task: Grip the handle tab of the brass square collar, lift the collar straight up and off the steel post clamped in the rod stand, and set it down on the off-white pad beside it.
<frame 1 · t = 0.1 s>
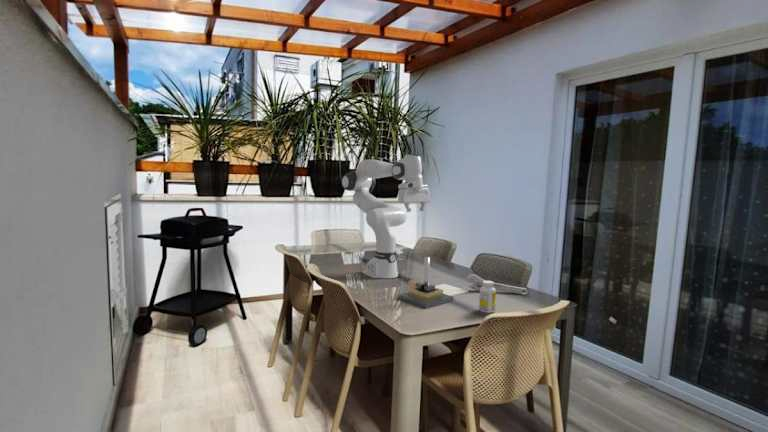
hand: (415, 211, 217), 39 cm above the table, tool pointing down, fingers open, 8 cm apart
collar: (425, 295, 195), point 2 cm above the table, touching rod stand
wrench: (496, 292, 210), on the table
rod stand: (425, 299, 195), on the table
supplement bottle: (486, 311, 181), on the table
pad: (445, 291, 209), on the table
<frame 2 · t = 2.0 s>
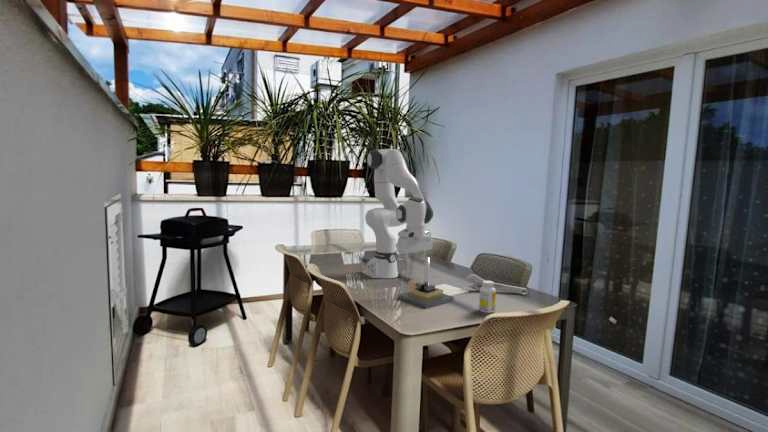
hand: (415, 261, 199), 17 cm above the table, tool pointing down, fingers open, 8 cm apart
nothing on the table moved.
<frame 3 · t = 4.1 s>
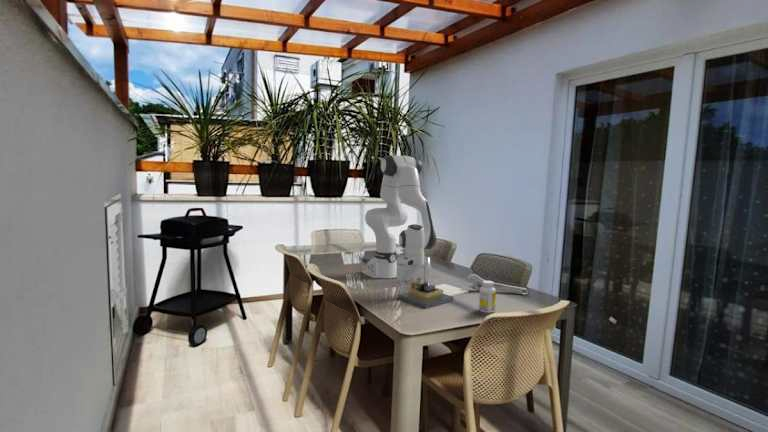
hand: (414, 287, 201), 4 cm above the table, tool pointing down, fingers closed on collar, 3 cm apart
collar: (426, 295, 195), point 2 cm above the table, touching gripper, rod stand
everything else where it was.
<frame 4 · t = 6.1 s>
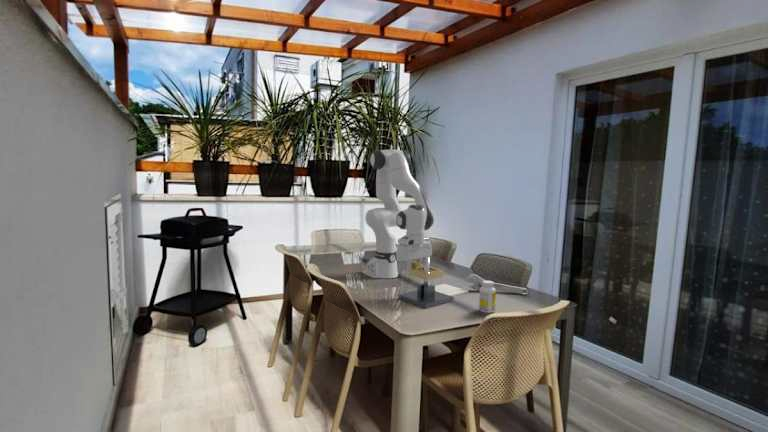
hand: (414, 267, 200), 14 cm above the table, tool pointing down, fingers closed on collar, 3 cm apart
collar: (426, 275, 194), point 11 cm above the table, touching gripper
everything else where it was.
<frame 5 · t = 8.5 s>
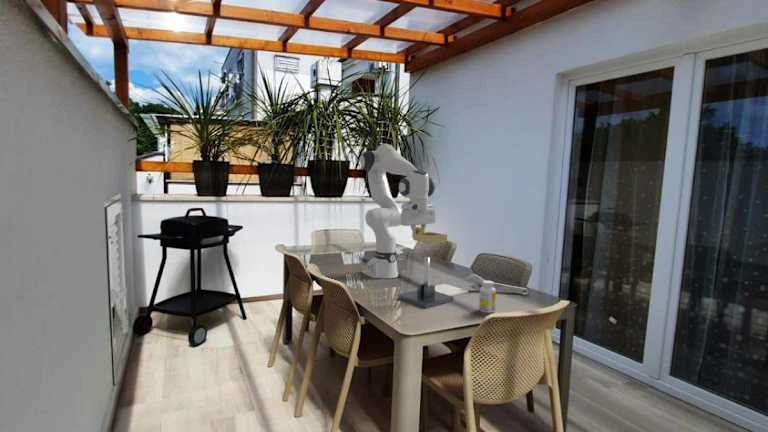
hand: (418, 233, 200), 30 cm above the table, tool pointing down, fingers closed on collar, 3 cm apart
collar: (430, 240, 194), point 28 cm above the table, touching gripper
everything else where it was.
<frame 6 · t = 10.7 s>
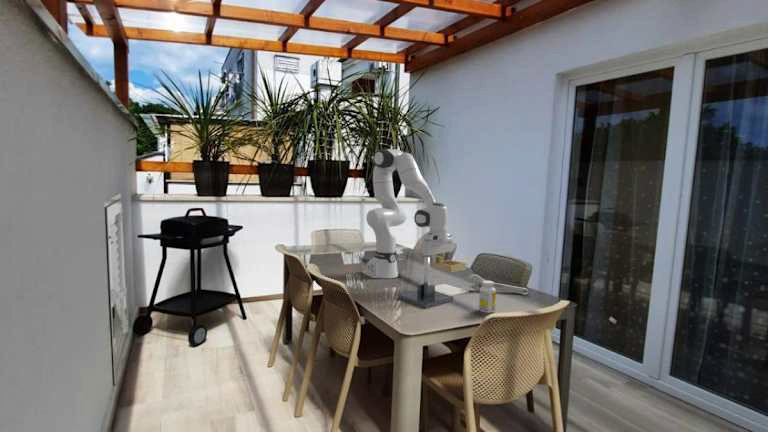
hand: (438, 262, 212), 14 cm above the table, tool pointing down, fingers closed on collar, 3 cm apart
collar: (450, 268, 206), point 12 cm above the table, touching gripper
everything else where it was.
when the fingers open (5 cm above the table, at t = 12.7 s): collar drops 2 cm, resting on pad.
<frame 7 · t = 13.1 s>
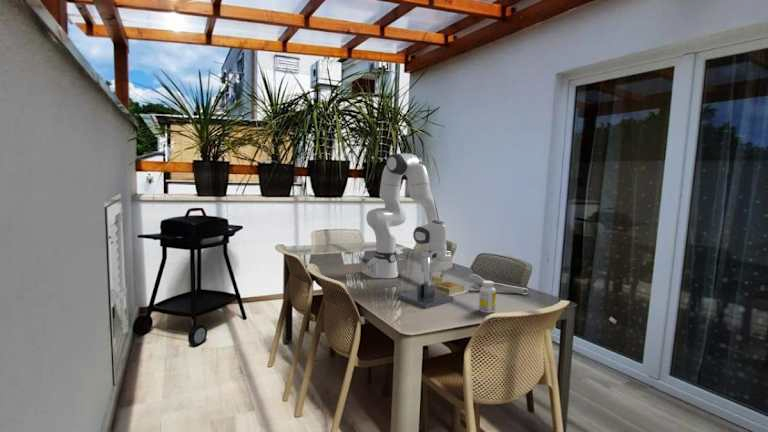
hand: (436, 279, 213), 5 cm above the table, tool pointing down, fingers open, 7 cm apart
collar: (448, 290, 208), point 1 cm above the table, touching pad
everything else where it was.
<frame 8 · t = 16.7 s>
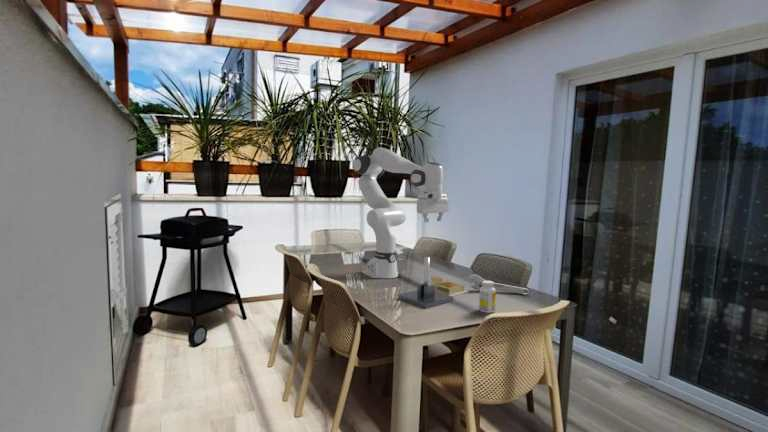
hand: (432, 221, 213), 34 cm above the table, tool pointing down, fingers open, 8 cm apart
nothing on the table moved.
at the end: collar inside the target area on the pad (0.8 cm from its centre), point 0.8 cm above the pad's base; collar tilted 0°; the gripper is holding nothing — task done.
